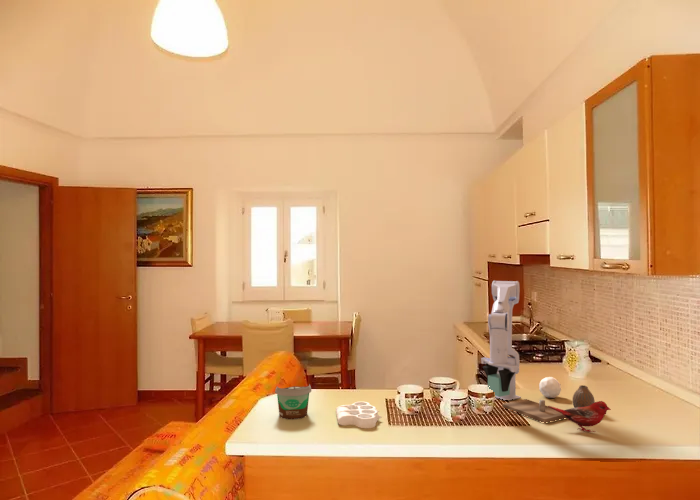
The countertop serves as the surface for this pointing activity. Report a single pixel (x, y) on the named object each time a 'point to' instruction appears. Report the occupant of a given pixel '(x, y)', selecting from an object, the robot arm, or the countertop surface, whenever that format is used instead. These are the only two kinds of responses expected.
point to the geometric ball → (550, 387)
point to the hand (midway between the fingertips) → (498, 389)
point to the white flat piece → (358, 415)
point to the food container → (293, 402)
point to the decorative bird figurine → (585, 414)
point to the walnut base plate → (534, 410)
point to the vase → (582, 397)
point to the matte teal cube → (497, 385)
